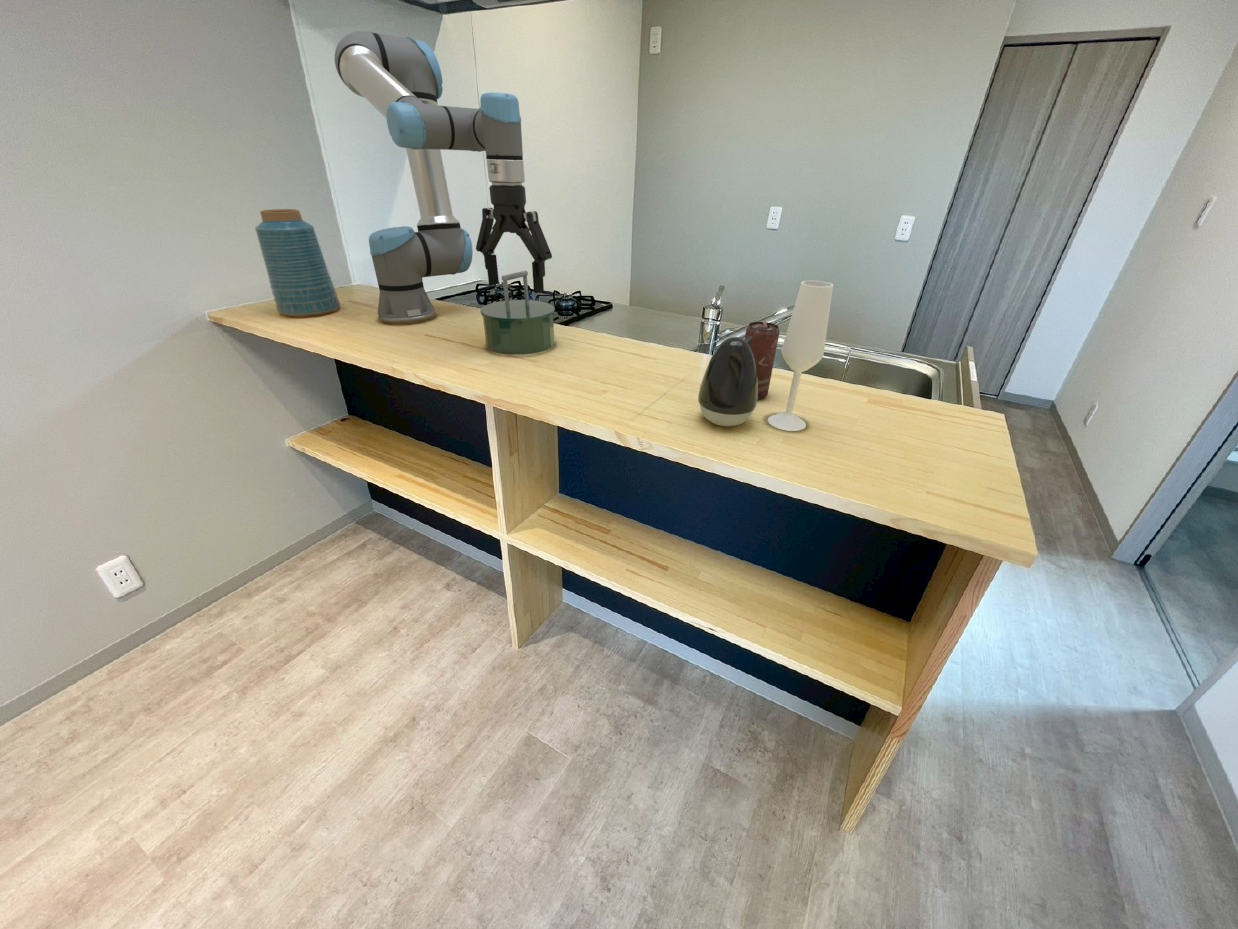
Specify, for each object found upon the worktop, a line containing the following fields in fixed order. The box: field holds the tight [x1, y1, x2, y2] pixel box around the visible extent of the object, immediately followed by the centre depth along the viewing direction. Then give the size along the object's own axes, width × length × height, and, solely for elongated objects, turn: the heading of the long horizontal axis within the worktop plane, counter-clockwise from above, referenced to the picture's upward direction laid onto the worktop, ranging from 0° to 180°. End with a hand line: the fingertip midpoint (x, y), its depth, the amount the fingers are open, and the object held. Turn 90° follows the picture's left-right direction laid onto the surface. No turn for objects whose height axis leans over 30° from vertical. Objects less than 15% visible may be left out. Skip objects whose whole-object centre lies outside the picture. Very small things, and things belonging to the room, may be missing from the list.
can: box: [744, 320, 780, 401], centre depth 96 cm, size 6×6×14 cm
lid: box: [479, 270, 556, 321], centre depth 116 cm, size 18×18×9 cm
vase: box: [254, 208, 341, 319], centre depth 139 cm, size 16×16×27 cm
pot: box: [482, 313, 555, 356], centre depth 120 cm, size 17×17×8 cm
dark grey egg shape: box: [697, 336, 758, 428], centre depth 85 cm, size 10×10×15 cm
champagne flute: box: [767, 280, 834, 432], centre depth 82 cm, size 7×7×24 cm
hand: (515, 288), depth 115 cm, fingers open, 13 cm apart
